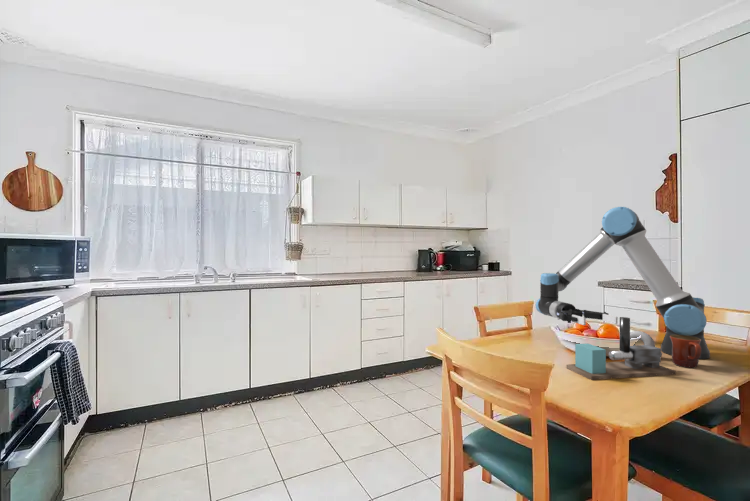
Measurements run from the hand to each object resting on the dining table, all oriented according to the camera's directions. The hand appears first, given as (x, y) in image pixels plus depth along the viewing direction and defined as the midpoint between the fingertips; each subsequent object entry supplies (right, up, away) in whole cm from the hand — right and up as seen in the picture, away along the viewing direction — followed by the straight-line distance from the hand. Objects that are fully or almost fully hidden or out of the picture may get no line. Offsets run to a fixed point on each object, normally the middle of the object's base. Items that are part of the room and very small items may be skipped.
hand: (600, 321), depth 138 cm
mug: (+27, -16, -6) cm, 32 cm away
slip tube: (+6, -11, -10) cm, 16 cm away
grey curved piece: (+19, -15, +7) cm, 26 cm away
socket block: (-12, -14, -13) cm, 22 cm away
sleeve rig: (0, -15, -11) cm, 19 cm away
